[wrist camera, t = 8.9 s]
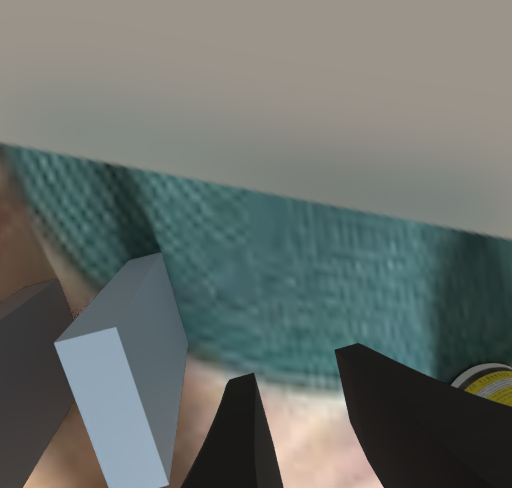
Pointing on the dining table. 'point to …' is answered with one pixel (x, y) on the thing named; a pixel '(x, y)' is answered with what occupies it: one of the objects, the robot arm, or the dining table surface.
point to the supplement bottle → (488, 382)
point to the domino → (31, 377)
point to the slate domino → (129, 373)
